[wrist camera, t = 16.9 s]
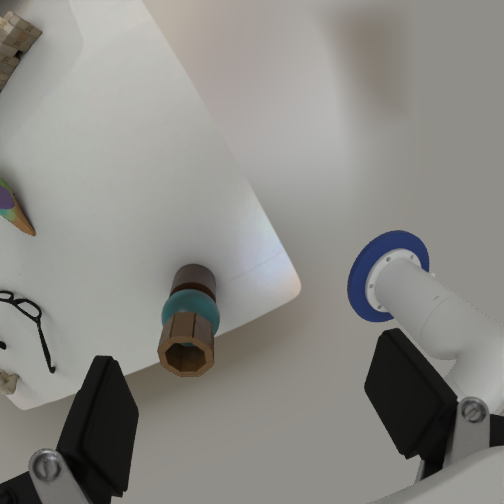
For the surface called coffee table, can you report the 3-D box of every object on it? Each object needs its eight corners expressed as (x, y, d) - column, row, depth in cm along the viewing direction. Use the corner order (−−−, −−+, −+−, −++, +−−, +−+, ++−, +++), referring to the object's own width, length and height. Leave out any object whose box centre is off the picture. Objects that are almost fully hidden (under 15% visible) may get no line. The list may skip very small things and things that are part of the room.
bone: (2, 386, 45) (-17, 395, 35) (0, 364, 46) (-19, 370, 37) (25, 395, 47) (8, 406, 37) (23, 373, 48) (5, 381, 39)
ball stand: (216, 259, 42) (218, 306, 30) (219, 302, 44) (223, 357, 32) (168, 262, 41) (151, 309, 29) (174, 304, 44) (163, 359, 31)
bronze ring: (210, 310, 30) (210, 335, 26) (215, 349, 32) (215, 376, 28) (160, 312, 30) (153, 337, 26) (169, 351, 32) (164, 377, 28)
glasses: (55, 305, 42) (43, 318, 37) (59, 372, 46) (51, 387, 41) (-6, 278, 38) (-20, 288, 33) (2, 346, 42) (-7, 358, 38)
